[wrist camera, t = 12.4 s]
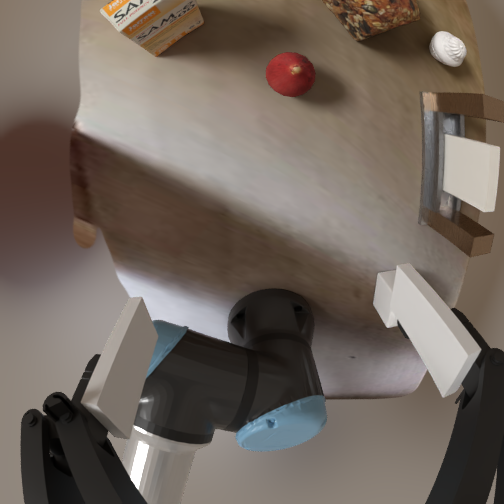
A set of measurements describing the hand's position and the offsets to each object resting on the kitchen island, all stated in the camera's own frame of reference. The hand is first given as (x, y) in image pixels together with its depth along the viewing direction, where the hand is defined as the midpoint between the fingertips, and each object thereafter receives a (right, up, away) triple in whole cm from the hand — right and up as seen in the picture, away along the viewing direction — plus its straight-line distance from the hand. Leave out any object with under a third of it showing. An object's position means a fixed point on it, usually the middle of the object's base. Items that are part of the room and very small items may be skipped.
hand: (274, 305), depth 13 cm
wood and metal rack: (+30, +18, +22) cm, 41 cm away
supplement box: (-12, +32, +13) cm, 37 cm away
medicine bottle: (+25, -3, +33) cm, 41 cm away
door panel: (+30, +17, +21) cm, 40 cm away
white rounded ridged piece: (+28, +35, +14) cm, 47 cm away
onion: (+3, +25, +17) cm, 31 cm away
